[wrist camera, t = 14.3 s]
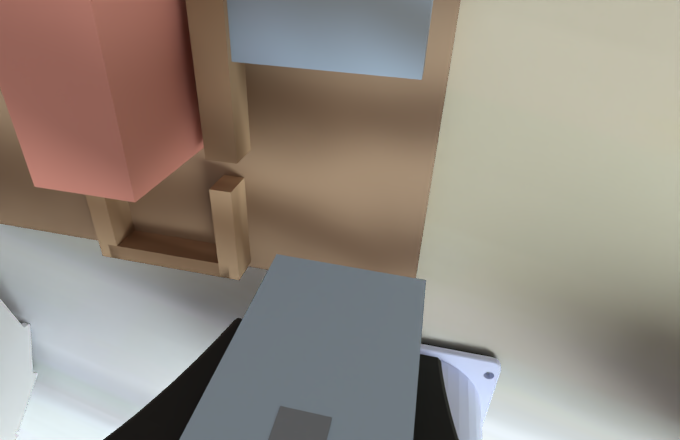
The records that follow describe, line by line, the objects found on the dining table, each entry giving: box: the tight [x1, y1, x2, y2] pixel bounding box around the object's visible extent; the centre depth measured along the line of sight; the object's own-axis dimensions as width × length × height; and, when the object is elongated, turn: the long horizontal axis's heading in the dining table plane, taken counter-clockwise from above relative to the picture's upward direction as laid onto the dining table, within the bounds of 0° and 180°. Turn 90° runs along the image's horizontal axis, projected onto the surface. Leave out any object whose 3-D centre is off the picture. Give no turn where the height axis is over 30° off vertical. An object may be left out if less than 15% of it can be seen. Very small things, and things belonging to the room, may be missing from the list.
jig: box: [0, 0, 460, 280], centre depth 18 cm, size 20×24×2 cm
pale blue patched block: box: [179, 254, 426, 440], centre depth 11 cm, size 4×4×6 cm
